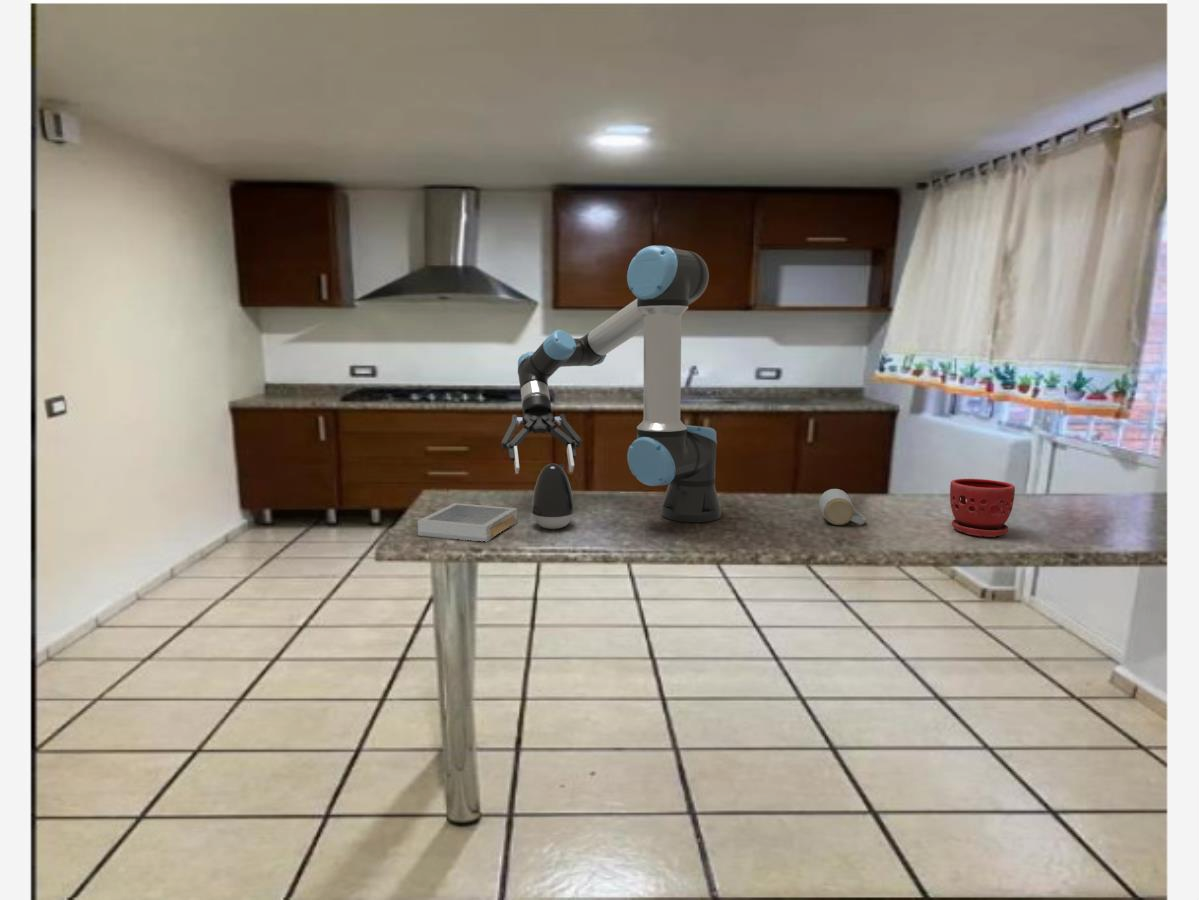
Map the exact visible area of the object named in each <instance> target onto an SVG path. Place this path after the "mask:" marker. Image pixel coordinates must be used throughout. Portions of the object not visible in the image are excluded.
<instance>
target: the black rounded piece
mask: <svg viewBox="0 0 1199 900" xmlns="http://www.w3.org/2000/svg"><path fill="white" fill-rule="evenodd" d="M564 468H565V464H564V463H561V464H557V463H549V464H546V465H545V466H544V467H543V468H542V469H541V470H540V473H539V475H538V477H537V479H536V482H535V483H536V484H535V486H534V490H533V495H532V500H531V514H532V515H533V516H532V517H533V518H534V520H535V523H536V524H537V525H538V526H540V527H541V528H543V529H547V530H548V529H549V530H556V529H562V528H564V527H566V526H567V525H568V524H570V522H571V521H572V518H573V516H574V515H573V514H574V513H575V502H574V500H575V499H574V496H573V490H572V488H571V484H570V480H569V477H568V475H567V472H565V470H564Z"/></svg>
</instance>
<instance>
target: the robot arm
mask: <svg viewBox="0 0 1199 900" xmlns="http://www.w3.org/2000/svg"><path fill="white" fill-rule="evenodd" d="M709 277H710V273H709V269H708V265H707V263H706V261H705V259H703V258H702V257H701V255H699V254H698V253H696V252H694V251H691V250H685V249H684V250H683V249H679V248H676V247H671V246H667V245H650V246H649V245H648V246H646V247H644V248H642V249H640V250H639V251H638V252H637V253H636V255H635V256H634V257H633V258H632V259H631V261H630V263H629V266H628V270H627V274H626V279H627V280H626V281H627V286H628V288H629V290H630V291H631V293H632V294H633V295H634V296H635V297H636V299H633V301H631V302H630V303H629V304H627V305H626V306H624V307H623V308H621V309H620V310H619V311H617V312H616V313H615V314H613V315H611V317H609V318H607V319H606V320H604V321H603V322H601V324H599V325H597V326H596V327H594V328H593V329H592V330H590V331H589V332H588V333H586V334H585V335H583V336H582V337H580V338H578V337H577V338H574V337H573V336H572V335H571V334H570V333H568V332H567V331H564V330H562V329H557V330H555V331H553V332H552V333H550V335H548V336H546V338H545V339H544V340H543V342H542V343H541V344H540V345H539V346H538V348H537V349H536V350H535V351H528V352H527V351H526V353H523V354H521V355H520V356H519V358H518V360H517V375H518V382H519V388H520V395H521V396H520V397H521V399H520V400H521V405H522V406H521V407H522V415H523V416H522V417H521V416H520V417H519V416H517V414H512V416H511V423H510V425H509V426H508V429H507V431H506V432H505V434H504V437H503V438H502V441H501V446H500V448H501V450H503V451H504V450H507V452H508V455H509V461H510V462H513V463H514V471H515V472H514V473H515V475H518V474H519V473H520V462H519V453H518V452H519V451H518V446H519V445H520V444H521V442H523V440H524V439H525V438H526V437H527V436H529V434H530V433H532V434H539V433H540V434H546V433H547V434H549V435H550V436H553V437H554V438H555V439H557V440H558V441H560V443H562V444H563V445H564V446H565V447H566V454H567V461H568V469H569V472H570V473H572V472H574V469H575V461H574V459H576V458H577V451H576V450H577V449H576V448H580V447H581V444H582V439H581V437H580V436H579V435H578V433H577V432H576V430H574V428H573V427H572V426H571V425H570V423H569V422H568V421H567V419H566V416H565V413H561V414H560V415H559V416H554V415H553V411H552V409H553V408H552V404H551V397H550V390H549V383H548V380H549V379H550V377H552V376H553V375H554V373H555V372H556V371H558V369H559V368H563V367H565V368H566V367H593V366H597V365H601V364H602V363H603V362H604V361H605V359H606V357H607V354H609V353H610V352H612V351H613V350H615V349H616V348H618V347H620V346H621V345H622V344H624V343H626V342H628V340H630V339H632V338H633V337H634V336H636V335H637V334H639V333H641V332H643V420H642V421H641V423H639V424H638V425H637V426H636V439H634V440H633V442H632V443H631V444H630V445H629V447H628V451H627V456H626V457H627V464H628V467H629V470H630V472H631V474H632V475H633V476H634V477H635V478H636V480H638V481H639V482H640V483H642V484H643V485H646V486H650V487H657V486H665V485H666V486H667V485H668V486H667V488H666V492H665V494H664V497H663V499H662V502H661V505H660V506H661V507H660V516H662V517H663V518H666V519H667V520H671V521H676V522H682V523H694V524H695V523H696V524H697V523H709V522H715V521H717V520H718V519H721V516H722V507H721V503H720V499H719V496H718V493H717V490H716V467H717V466H716V464H717V463H716V461H717V447H718V446H717V445H718V441H717V431H716V430H715V429H714V428H712V427H708V426H707V427H706V426H699V425H698V426H697V425H687V424H684V423H683V422H682V420H681V398H682V397H681V393H682V391H681V389H682V388H681V387H682V385H681V382H682V381H681V378H682V316H683V314H684V313H685V312H686V311H687V310H688V309H689V305H691V304H692V303H694V302H695V301H697V300H698V299H700V297H701V296H702V295H703V294H704V293H705V291H706V289H707V287H708V285H709V279H710V278H709ZM521 423H522V425H524V426H523V428H522V429H521V430H519V432H518V433H517V434H516V435H515V436H514V437H513V435H514V434H515V431H516V429H517V427H519V426H520V424H521ZM555 423H557V425H558V426H560V428H561V429H562V430H561V429H560V428H559V427H558V426H557V425H556V424H555ZM512 437H513V438H512Z"/></svg>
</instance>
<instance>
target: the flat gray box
mask: <svg viewBox="0 0 1199 900" xmlns="http://www.w3.org/2000/svg"><path fill="white" fill-rule="evenodd" d="M516 522H517V523H518V507H506V506H505V507H504V506H493V505H481V504H470V503H457V502H453V503H451V504H450V505H446V506H445V507H443V508H441V509H438V510H437V511H435V512H433V513H430V514H429V515H427V516H424V517H422V518H420V519H418V520H417V536H418V537H419V536H420V537H429V538H440V539H448V540H457V539H459V541H467V540H469V542H477V541H485V542H484V543H488V542H489V541H488V540H490V539H491V538H493V537H494V536H496V535H497V534H499V533H500V534H502V533H503V532H505V531H506V530H507V528H508V529H509V528H511V527H512V526H514V525H515V524H517V523H516ZM514 523H515V524H514ZM513 524H514V525H513ZM510 526H511V527H510ZM505 529H506V530H505ZM504 530H505V531H504ZM502 531H503V532H502ZM501 532H502V533H501ZM500 534H499V535H500ZM497 536H498V535H497ZM497 536H496V537H497ZM494 538H495V537H494ZM494 538H493V539H494ZM470 540H471V541H470ZM491 540H492V539H491ZM491 540H490V541H491ZM487 541H488V542H487Z"/></svg>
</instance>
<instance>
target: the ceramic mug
mask: <svg viewBox="0 0 1199 900" xmlns="http://www.w3.org/2000/svg"><path fill="white" fill-rule="evenodd" d="M818 506H819V510H820V513H822V515H823V518H824V519H825V520H826V522H828V523H829V524H832V525H835V526H843V525H844V526H845V525H846V524H848V523H849V522H850V521H851V522H852V523H855V524H857V525H861V526H863V525H864V524H865V522H866V520H867V519H866V517H865V516H864V515H862V514H861V513H860V512H859V511H856V510H855V508H854V504H853V503H852V500H851V498H850V496H849V495H848V493H846V492H845V491H844V490H842V489H839V488H830V489H828V490H826V491H824V492H823V493H822V494H821V495H820V497H819V502H818Z"/></svg>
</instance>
